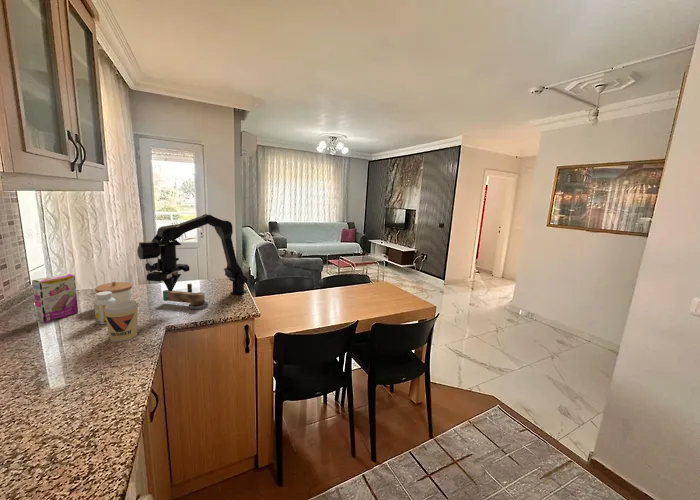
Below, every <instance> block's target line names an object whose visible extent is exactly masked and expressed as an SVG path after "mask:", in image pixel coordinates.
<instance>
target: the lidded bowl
mask: <svg viewBox="0 0 700 500" xmlns="http://www.w3.org/2000/svg"><path fill="white" fill-rule="evenodd" d="M94 289H95V290H94V291H95V295H96V294H97V293H99V292H104V291H111V292H112V296H111V297H113V298H115V300H116V302H117V301H123V300H131V299H132V295H133V284H132V283H131V282H127V281H111V282H108V283H103V284H100V285H98V286H96V287H95V288H94Z"/></svg>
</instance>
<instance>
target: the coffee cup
mask: <svg viewBox="0 0 700 500" xmlns="http://www.w3.org/2000/svg"><path fill="white" fill-rule="evenodd" d="M104 311H105V316H106V321H107V324H106V325H107V331H108V335H109V340H110V341H112V342H124V340H125V341H127V340H130V339H134V338H135V337H136V336H137V335H138V302H137V301H135V300H131V299H130V300H123V301H117V302H113V303H110V304H108V305H106V306H105V308H104Z"/></svg>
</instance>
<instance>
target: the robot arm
mask: <svg viewBox="0 0 700 500" xmlns="http://www.w3.org/2000/svg"><path fill="white" fill-rule="evenodd" d="M207 225H209V226H211V227H214V229H215V232H216V234H217V235H218V237H219V238H220V241H221V245H222V248H223V253H224V257H225V261H226V264H227V265H226V267H225V268H223V271H224V273H225V275H224V276H226V277H227V278H228V279H229V281H230V282H232V291H231V292H229V295H237V296H243V295H244V294H245V293H246V292H247V291H248V290H246V289H245V284H246V283H248V280H249V278H248V277H247V276H245V275H244V272H243V269H242V268H241V266H240V265H239V264H238V261H237V256H236V252H235V249H234V243H233V239H232V235H233V233H234V232H233V230H234V229H233V224H232V222H230V221H229V220H224V219H220V218H218V217H215V216H213V215H212V214H208V213H206V214H202V215H201V216H198V217H194V218H191V219H189V220H187V221H184V222H180V223H177V224H168V225H164V226H160V227H158V229H157V231H156V234H155V235H154V237H153V239H152V240H151V241H150V242H149V241H147V242H146V241H145V242H144V241H143V242H141V241H140V242H138V246H137V250H136V251H137V257H138V258H139V260H150V259H156V258H158V257H160V258H158V259H157V262H155V263H153V262H152V261H150V262H147V263H145V264H144V265H145V267H144V268H145V270H146V271H147V272H149V273H147V274H146V281H149V282H163V283H164V284H165V287H166V290H168V291H174V288H175V286H176V284H177V282H178V280H179V278H180V276H182V274H181V273H179V271H183V272H184V273H185V272H186V273H187V272H189V271H190V266H189V265H188V264H186V263H177V262H178V261H180V260H179V257H177V248H176V246H182V243H181V242H179V240H178V239H180V237H181V236H183V235H184V234H185V233H188V232H190V231H193V230H196V229H198V228H200V227H203V226H207Z"/></svg>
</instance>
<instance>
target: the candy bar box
mask: <svg viewBox="0 0 700 500" xmlns="http://www.w3.org/2000/svg"><path fill="white" fill-rule="evenodd" d="M31 285H32V294H33V302H34V308H35V309H34V311H35V318H36V322H40V323H43V324H46V323H50V322H52V321H56V320H59V319H61V318H65V317H69V316H72V315H75V314H78V313H79V307H78V297H77V286H76V285H77V284H76V276H75V275H74V274H71V273H63V274H58V275H54V276H53V275H52V276H47V277H41V278H37V279H32V280H31Z"/></svg>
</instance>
